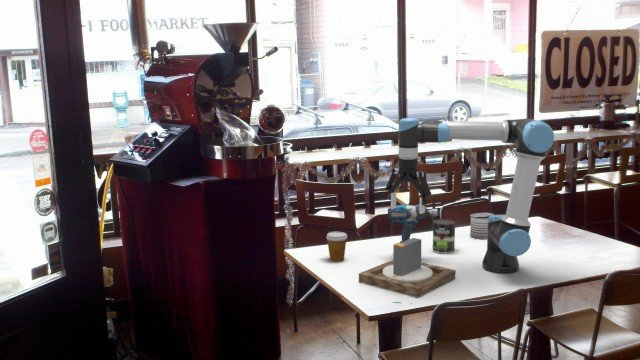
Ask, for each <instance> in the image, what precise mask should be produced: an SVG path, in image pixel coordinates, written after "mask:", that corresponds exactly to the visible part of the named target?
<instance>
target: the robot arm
mask: <svg viewBox="0 0 640 360" xmlns="http://www.w3.org/2000/svg"><path fill="white" fill-rule="evenodd" d="M398 125H399V126H398V167H396V168H392V170H391V175H390V177H389V179H388V181H387V184H386V186H385V188H384V189H385V191H388V192H389V198H388V199H389V201H390V207H391V209H394V208H396V206H397V191H396V190H397V189H398V187H399V186H400V185H401V183H403V182H408V183H412V184H413V185H414V187H415V188H416V190H417V192H418V193H419V195H420V196H419V204H418V205H419V214H422V213H425V208H426V206H427V204H428V203H427V201H428V200H427V199H428V197H429V196H432V191H431V188H430V186H429V184H428V181H427V179H426V174H425V171H423V170H422V171H419V170H418V167H419V159H418V157H419V144H423V143H425V144H426V143H437V144H441V143H447V142H448V141H449V140H459V141H460V140H461V141H463V140H465V141H498V142H499V141H501V142H502V144H510V145H511V144H512V145H516V146H515V147H516V148H515V151H514V152H515V154H516V156H517V161H516V165H515V171H514V176H513V180H512V184H511V189H510V194H509V198H508V203H507V208H506V212H505V214H494V215H491V216H489V218H488V223H487V224H488V234H487V240H486V241H487V242H486V243H487V244H486V251H485V254H484V256H483V258H482V263H481V265H482V266H481V267H482V269H483V270H486V271H488V272H491V273H496V274H511V273H516V272H518V271H519V269H520V262H519V259H518V257H519V256H522V255H524V254H525V253H527V252H528V251H529V249H530V247H531V244H532V241H531V235H530V230H531V225H532V224H531V223H530V221H529V216H530V212H531V211H530V210H531V206H532V202H533V196H534V193H535V189H536V184H537V179H538V175H539V170H540V165H541V162H542V160H544V159H545V158H546V157H547V153H548V150H549V149H550V148H551V147H552V146H553V144H554V141H555V133H554V130H553V129H552V127H551V126H550V125H549V124H547V123H546V122H544V121H542V120H536V119H533V118H519V119H518V118H516V119H503V121H468V120H467V121H465V120H464V121H463V120H461V121H459V120H431V119H423V120H422V121H421V122H420V121H419V119H418V118H414V117H411V118H410V117H407V118H400V120H399V124H398ZM398 175H399V176H398Z"/></svg>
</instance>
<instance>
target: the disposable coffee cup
mask: <svg viewBox="0 0 640 360" xmlns="http://www.w3.org/2000/svg"><path fill="white" fill-rule="evenodd" d="M347 239H348V234H347V233H346V232H342V231H330V232H328V233H327V235H326V240H327V247H328V254H329V260H330V262H333V263H335V262H336V263H340V262H343V261H345V256H346V255H345V253H346V246H347Z"/></svg>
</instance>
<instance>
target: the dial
mask: <svg viewBox="0 0 640 360" xmlns="http://www.w3.org/2000/svg"><path fill="white" fill-rule="evenodd" d="M392 247H393V255H392V256H393V259H392V260H393V265H389V266H386V267H385V268H384V269H383V277H386V278H391V279H394V280H398V281H402V282H406V283H410V284H418V283H420V282H422V281H424V280H427V279H429V278H431V277H432V270H431V269H430V268H428V267H426V266H423V265H421V263H422V239H421V238H415V237H410V239H409V240H406V241H403V242H401V243H399V242H396V243H394V244H393V246H392Z"/></svg>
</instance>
